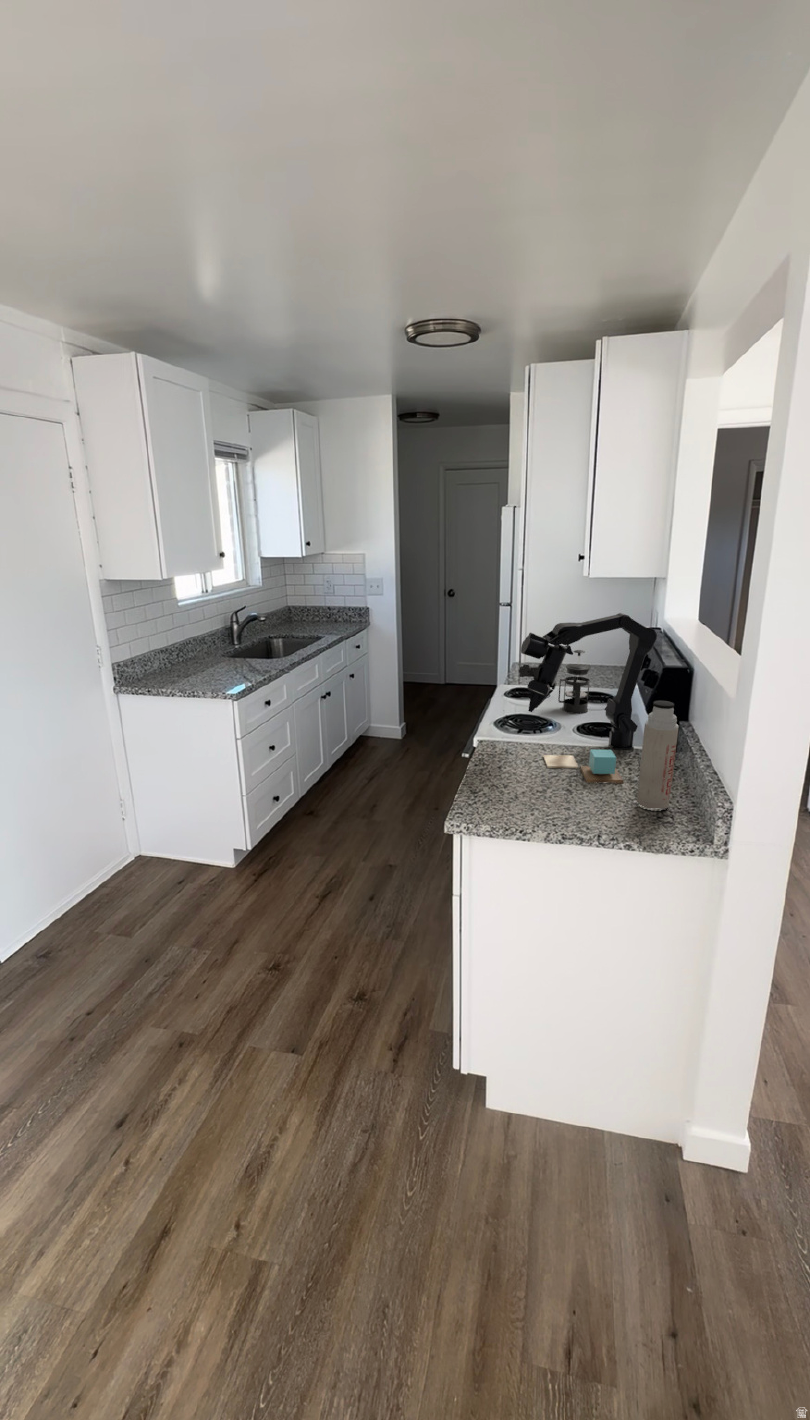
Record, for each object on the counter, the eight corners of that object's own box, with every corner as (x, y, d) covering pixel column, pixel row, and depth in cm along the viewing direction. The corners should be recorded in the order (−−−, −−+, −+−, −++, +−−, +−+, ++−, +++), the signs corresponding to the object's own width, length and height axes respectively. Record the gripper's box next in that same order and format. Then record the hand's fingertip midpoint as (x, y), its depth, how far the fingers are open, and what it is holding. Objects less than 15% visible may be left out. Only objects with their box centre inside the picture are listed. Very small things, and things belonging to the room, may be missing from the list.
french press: (588, 706, 257) (592, 648, 251) (591, 714, 249) (596, 653, 242) (556, 705, 259) (560, 647, 252) (558, 713, 250) (562, 652, 243)
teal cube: (609, 765, 195) (611, 749, 194) (614, 773, 189) (616, 757, 188) (588, 765, 195) (590, 749, 194) (593, 773, 190) (594, 757, 188)
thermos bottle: (675, 807, 173) (688, 704, 164) (653, 814, 169) (665, 709, 161) (651, 796, 180) (663, 696, 171) (629, 802, 176) (640, 700, 168)
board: (572, 757, 207) (572, 755, 207) (578, 768, 199) (578, 766, 198) (543, 756, 208) (543, 755, 207) (547, 767, 199) (547, 766, 199)
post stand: (614, 769, 198) (616, 750, 196) (623, 783, 188) (625, 763, 186) (580, 769, 198) (581, 750, 196) (587, 782, 189) (588, 762, 187)
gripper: (532, 652, 216) (514, 696, 220) (521, 655, 199) (502, 703, 203) (564, 665, 213) (546, 709, 217) (556, 669, 196) (536, 717, 200)
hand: (532, 709), depth 209 cm, fingers open, 9 cm apart
